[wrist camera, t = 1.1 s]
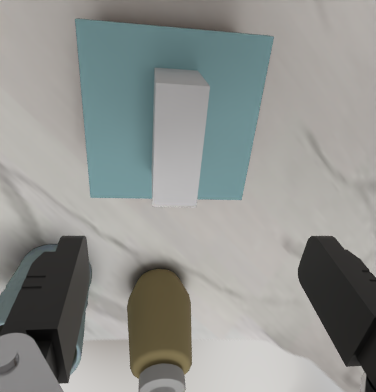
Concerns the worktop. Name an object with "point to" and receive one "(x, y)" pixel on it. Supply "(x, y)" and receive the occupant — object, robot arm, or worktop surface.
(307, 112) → the worktop surface
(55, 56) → the worktop surface
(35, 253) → the grey-blue cup
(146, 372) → the squeeze bottle
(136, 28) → the lid
